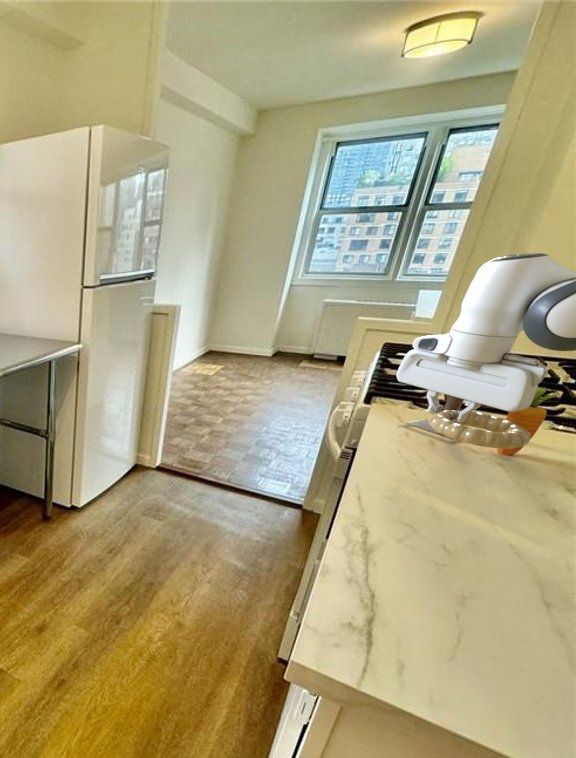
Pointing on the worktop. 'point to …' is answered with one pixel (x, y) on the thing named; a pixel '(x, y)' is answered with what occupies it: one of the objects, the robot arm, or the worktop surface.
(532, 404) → the carrot
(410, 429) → the worktop surface
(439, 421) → the bracelet
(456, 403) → the brown peg stand
